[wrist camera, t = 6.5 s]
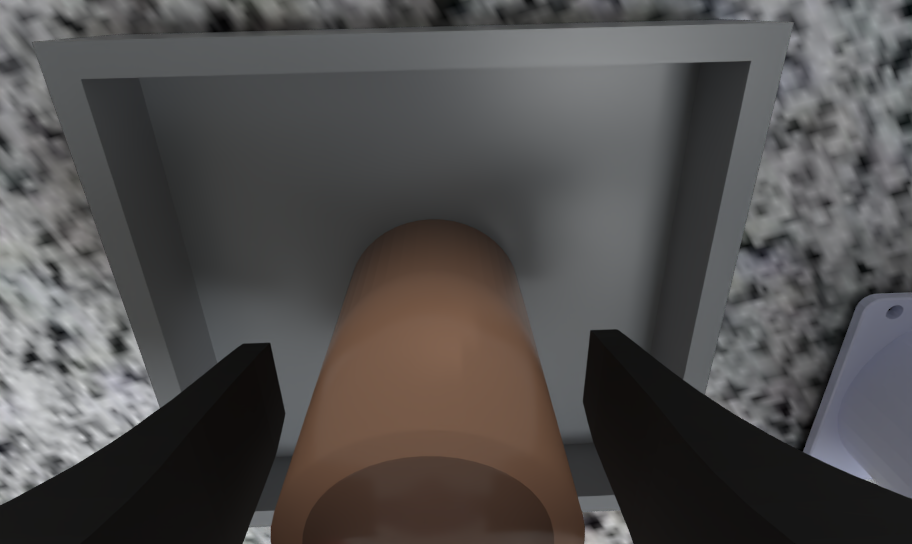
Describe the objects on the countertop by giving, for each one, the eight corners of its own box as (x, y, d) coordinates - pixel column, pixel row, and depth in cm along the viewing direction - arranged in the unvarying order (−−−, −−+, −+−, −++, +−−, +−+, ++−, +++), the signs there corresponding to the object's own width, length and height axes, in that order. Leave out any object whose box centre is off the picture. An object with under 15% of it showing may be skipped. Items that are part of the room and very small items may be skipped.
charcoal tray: (721, 19, 13) (793, 22, 11) (644, 439, 20) (677, 507, 17) (115, 34, 13) (32, 41, 10) (235, 456, 19) (202, 529, 17)
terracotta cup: (521, 215, 14) (599, 425, 7) (517, 363, 17) (574, 633, 10) (338, 222, 14) (237, 440, 7) (359, 370, 17) (298, 646, 10)
